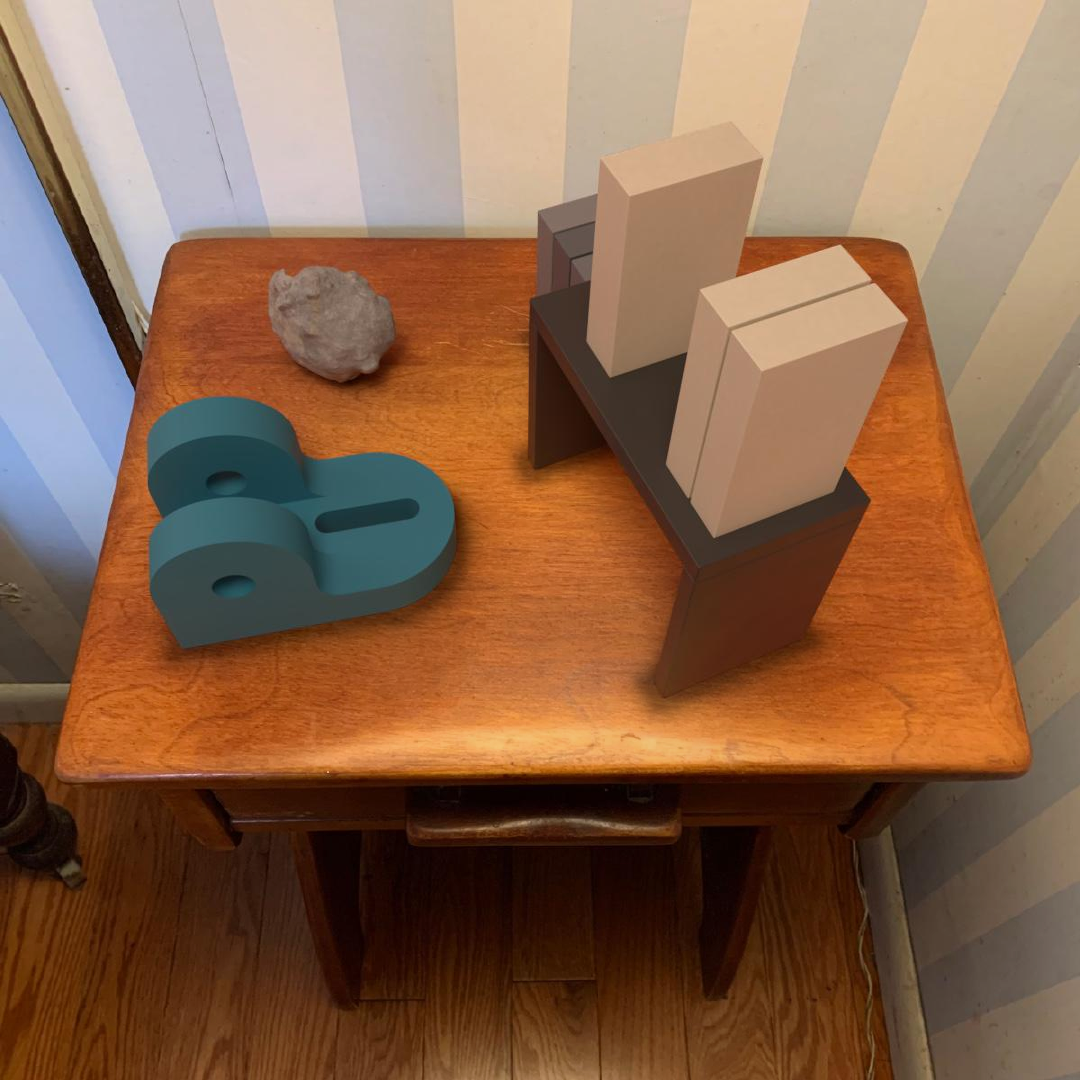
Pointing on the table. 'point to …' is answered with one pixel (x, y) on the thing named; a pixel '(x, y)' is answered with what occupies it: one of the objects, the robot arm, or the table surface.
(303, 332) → the stone
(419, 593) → the bracket
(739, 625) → the shelf
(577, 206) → the grey books
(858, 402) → the white books
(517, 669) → the table surface
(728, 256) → the beige rectangular block
